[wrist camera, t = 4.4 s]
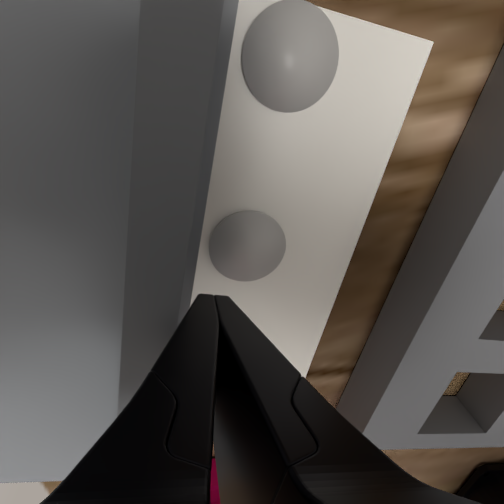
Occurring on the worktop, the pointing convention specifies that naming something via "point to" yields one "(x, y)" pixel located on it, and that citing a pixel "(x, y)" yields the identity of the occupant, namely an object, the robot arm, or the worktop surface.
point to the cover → (98, 207)
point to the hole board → (444, 308)
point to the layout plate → (300, 161)
